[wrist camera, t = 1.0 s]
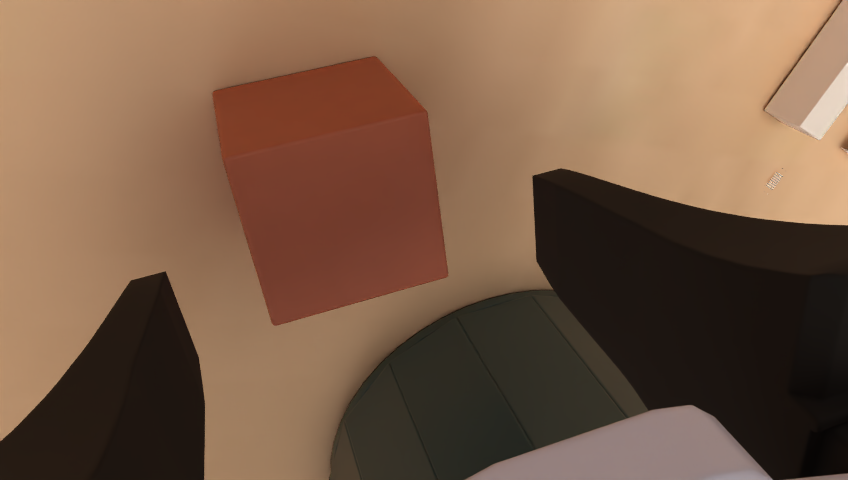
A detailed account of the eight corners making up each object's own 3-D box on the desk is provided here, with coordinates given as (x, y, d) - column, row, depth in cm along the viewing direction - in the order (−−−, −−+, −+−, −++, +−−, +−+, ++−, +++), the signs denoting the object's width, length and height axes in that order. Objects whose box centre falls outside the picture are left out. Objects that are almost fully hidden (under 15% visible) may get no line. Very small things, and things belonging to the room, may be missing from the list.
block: (254, 236, 19) (273, 328, 16) (211, 90, 17) (221, 158, 14) (399, 198, 20) (449, 277, 17) (376, 55, 18) (427, 110, 14)
